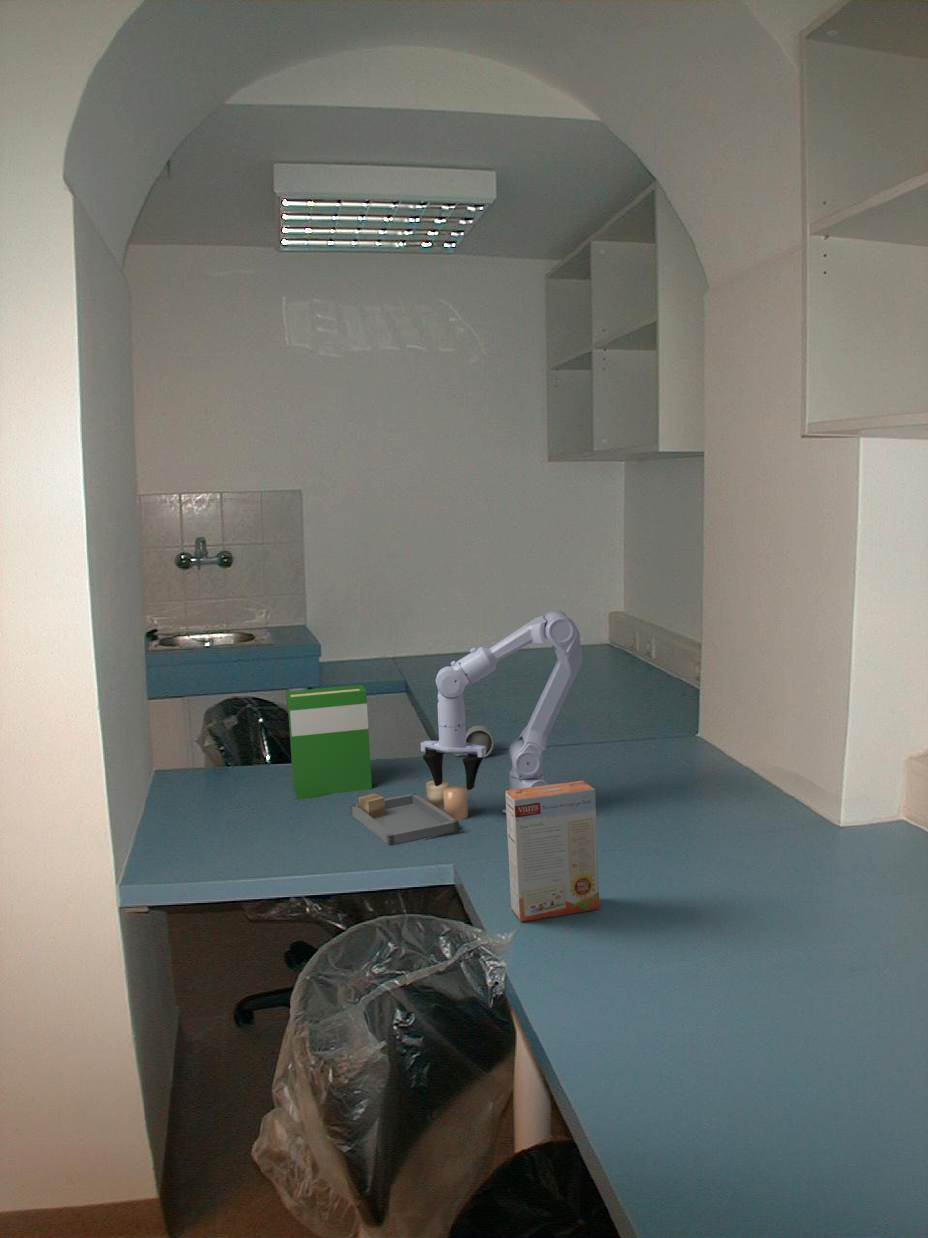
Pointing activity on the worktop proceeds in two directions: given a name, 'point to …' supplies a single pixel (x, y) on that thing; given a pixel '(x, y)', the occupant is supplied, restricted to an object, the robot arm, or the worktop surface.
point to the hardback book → (329, 741)
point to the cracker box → (552, 850)
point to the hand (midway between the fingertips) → (454, 786)
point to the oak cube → (372, 805)
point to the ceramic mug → (480, 738)
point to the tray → (407, 820)
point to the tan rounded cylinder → (456, 802)
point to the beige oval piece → (436, 793)
